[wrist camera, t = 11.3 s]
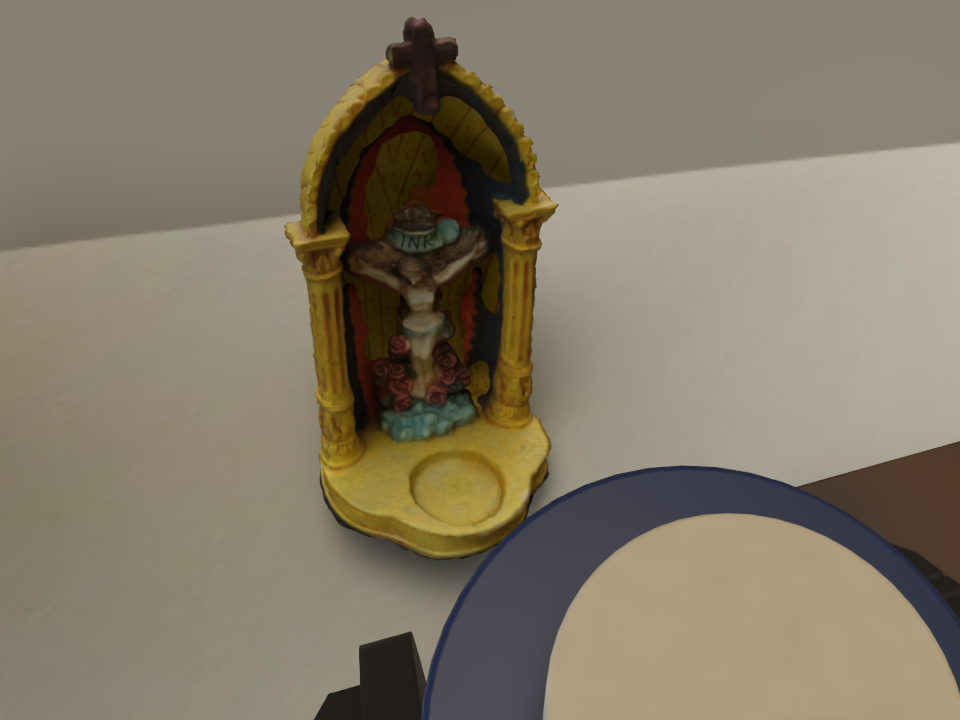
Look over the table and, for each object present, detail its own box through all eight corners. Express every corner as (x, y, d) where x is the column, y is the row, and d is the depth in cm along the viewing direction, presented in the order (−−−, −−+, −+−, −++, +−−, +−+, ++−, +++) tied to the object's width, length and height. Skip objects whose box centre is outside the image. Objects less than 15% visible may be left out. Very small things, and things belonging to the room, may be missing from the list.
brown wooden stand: (690, 933, 26) (732, 952, 21) (581, 597, 31) (592, 542, 25) (1069, 811, 27) (1201, 799, 22) (906, 504, 32) (981, 434, 26)
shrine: (349, 309, 37) (251, 1, 24) (549, 305, 36) (562, -8, 23) (323, 589, 31) (175, 389, 18) (558, 588, 31) (582, 384, 18)
